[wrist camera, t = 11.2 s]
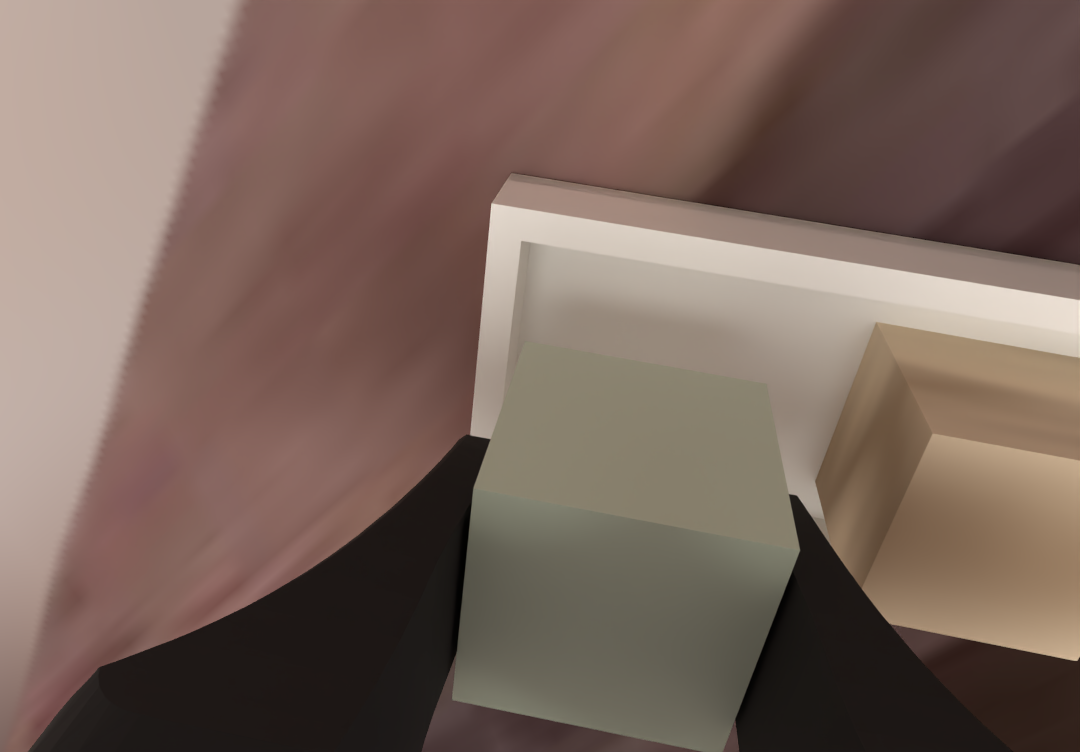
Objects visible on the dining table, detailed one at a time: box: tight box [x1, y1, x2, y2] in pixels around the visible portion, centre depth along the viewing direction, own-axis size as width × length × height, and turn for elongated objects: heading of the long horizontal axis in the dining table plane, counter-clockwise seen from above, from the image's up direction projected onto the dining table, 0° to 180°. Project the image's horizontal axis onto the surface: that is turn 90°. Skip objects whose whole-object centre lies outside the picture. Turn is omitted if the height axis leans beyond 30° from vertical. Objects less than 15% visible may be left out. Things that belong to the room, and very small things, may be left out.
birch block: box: [815, 322, 1080, 661], centre depth 15 cm, size 4×4×4 cm
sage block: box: [452, 341, 800, 752], centre depth 12 cm, size 4×4×4 cm
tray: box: [470, 173, 1080, 545], centre depth 16 cm, size 7×13×2 cm, turn 83°
